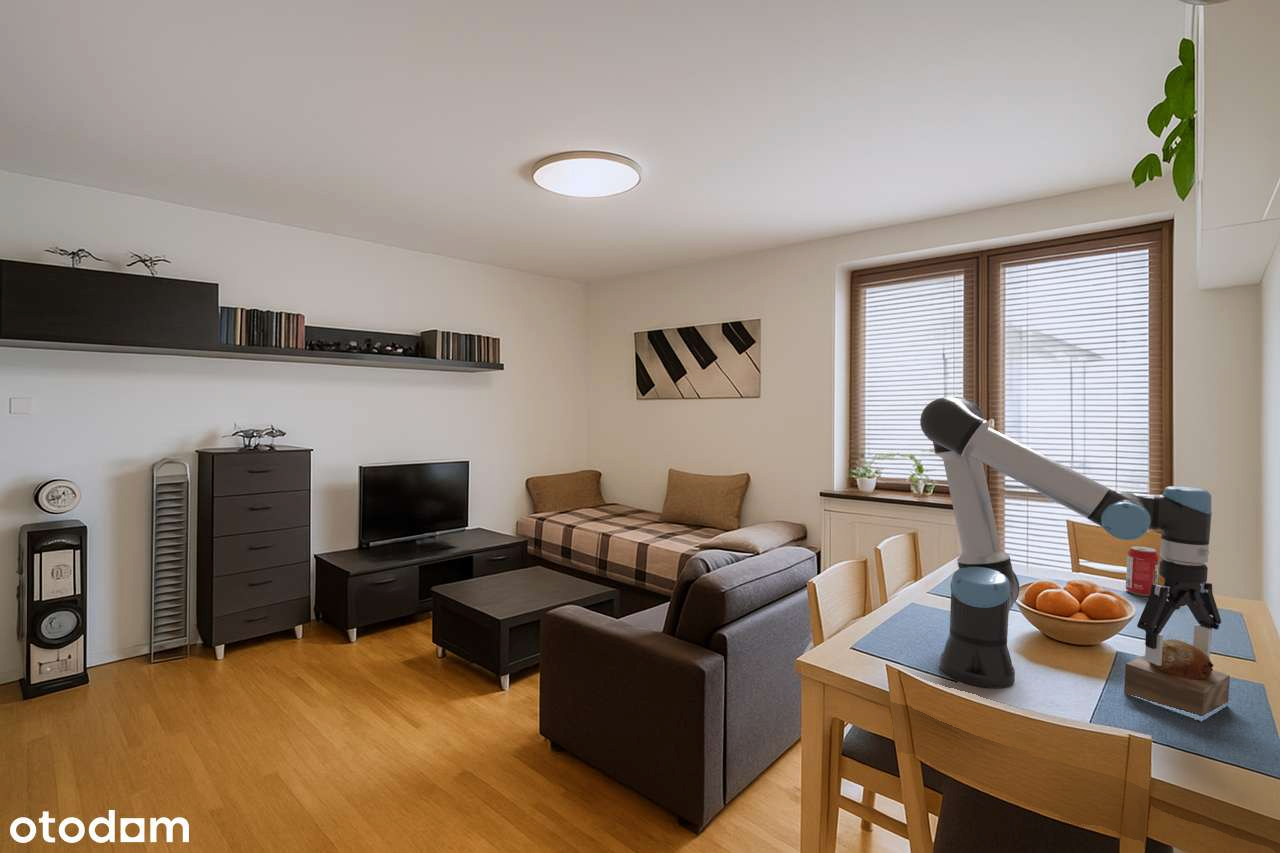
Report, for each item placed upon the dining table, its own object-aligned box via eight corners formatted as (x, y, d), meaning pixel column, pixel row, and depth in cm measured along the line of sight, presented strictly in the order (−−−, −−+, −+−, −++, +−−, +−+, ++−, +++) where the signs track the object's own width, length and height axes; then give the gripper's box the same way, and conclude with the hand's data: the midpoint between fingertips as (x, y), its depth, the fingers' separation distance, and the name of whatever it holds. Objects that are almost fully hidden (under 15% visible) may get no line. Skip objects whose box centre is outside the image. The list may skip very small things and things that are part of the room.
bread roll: (1157, 673, 134) (1139, 637, 136) (1215, 666, 128) (1196, 628, 130) (1158, 689, 126) (1139, 651, 128) (1221, 683, 120) (1200, 643, 122)
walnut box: (1201, 723, 120) (1203, 689, 119) (1123, 694, 131) (1125, 663, 131) (1227, 707, 126) (1229, 675, 126) (1151, 681, 137) (1153, 651, 137)
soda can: (1119, 590, 201) (1122, 546, 200) (1136, 588, 203) (1138, 544, 202) (1145, 598, 193) (1148, 552, 192) (1162, 596, 196) (1165, 550, 195)
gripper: (1157, 569, 120) (1151, 673, 121) (1248, 562, 126) (1241, 661, 128) (1119, 559, 127) (1114, 657, 129) (1206, 553, 134) (1200, 646, 135)
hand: (1177, 659), depth 128 cm, fingers open, 13 cm apart
